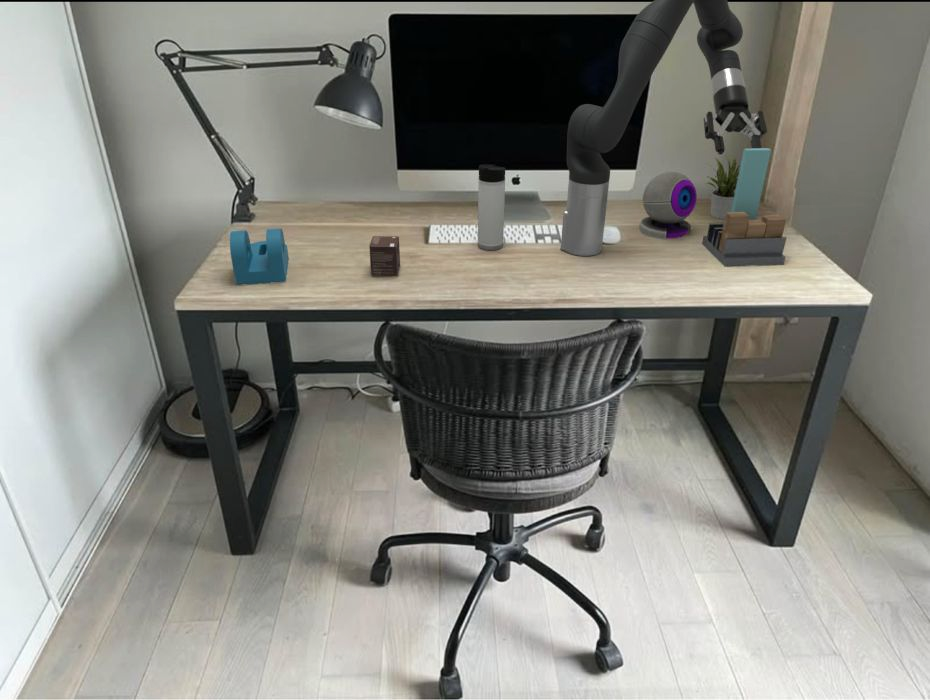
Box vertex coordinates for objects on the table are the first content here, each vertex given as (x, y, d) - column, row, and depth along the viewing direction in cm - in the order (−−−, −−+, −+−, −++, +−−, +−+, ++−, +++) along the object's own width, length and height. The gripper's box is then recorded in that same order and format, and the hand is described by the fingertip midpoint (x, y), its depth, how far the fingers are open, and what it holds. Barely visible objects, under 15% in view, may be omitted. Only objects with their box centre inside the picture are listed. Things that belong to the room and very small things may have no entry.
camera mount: (285, 282, 150) (279, 237, 145) (236, 285, 149) (228, 240, 144) (289, 251, 166) (284, 209, 160) (245, 253, 164) (237, 211, 159)
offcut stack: (718, 249, 161) (726, 212, 157) (772, 247, 162) (781, 210, 158) (723, 253, 159) (731, 216, 154) (778, 252, 160) (787, 215, 155)
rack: (701, 243, 170) (706, 220, 167) (756, 242, 171) (762, 219, 168) (724, 266, 158) (729, 241, 155) (783, 264, 159) (789, 240, 156)
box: (374, 265, 158) (372, 235, 154) (400, 266, 158) (399, 235, 154) (370, 276, 153) (368, 245, 149) (397, 277, 153) (396, 246, 149)
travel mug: (471, 246, 168) (471, 164, 158) (489, 239, 172) (490, 159, 162) (490, 253, 164) (492, 170, 154) (508, 245, 168) (511, 164, 158)
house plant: (762, 215, 187) (775, 155, 179) (741, 229, 178) (755, 166, 170) (712, 204, 195) (723, 146, 187) (690, 216, 187) (700, 156, 178)
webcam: (664, 242, 170) (674, 183, 163) (628, 227, 180) (635, 170, 172) (700, 232, 176) (711, 174, 169) (663, 218, 186) (671, 162, 178)
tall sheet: (725, 240, 166) (744, 148, 155) (747, 239, 167) (768, 148, 155) (727, 242, 165) (747, 150, 154) (750, 242, 165) (771, 149, 154)
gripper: (706, 83, 163) (716, 144, 159) (764, 83, 164) (775, 143, 160) (694, 102, 170) (703, 161, 166) (750, 101, 171) (760, 160, 167)
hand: (739, 152), depth 163 cm, fingers open, 8 cm apart
